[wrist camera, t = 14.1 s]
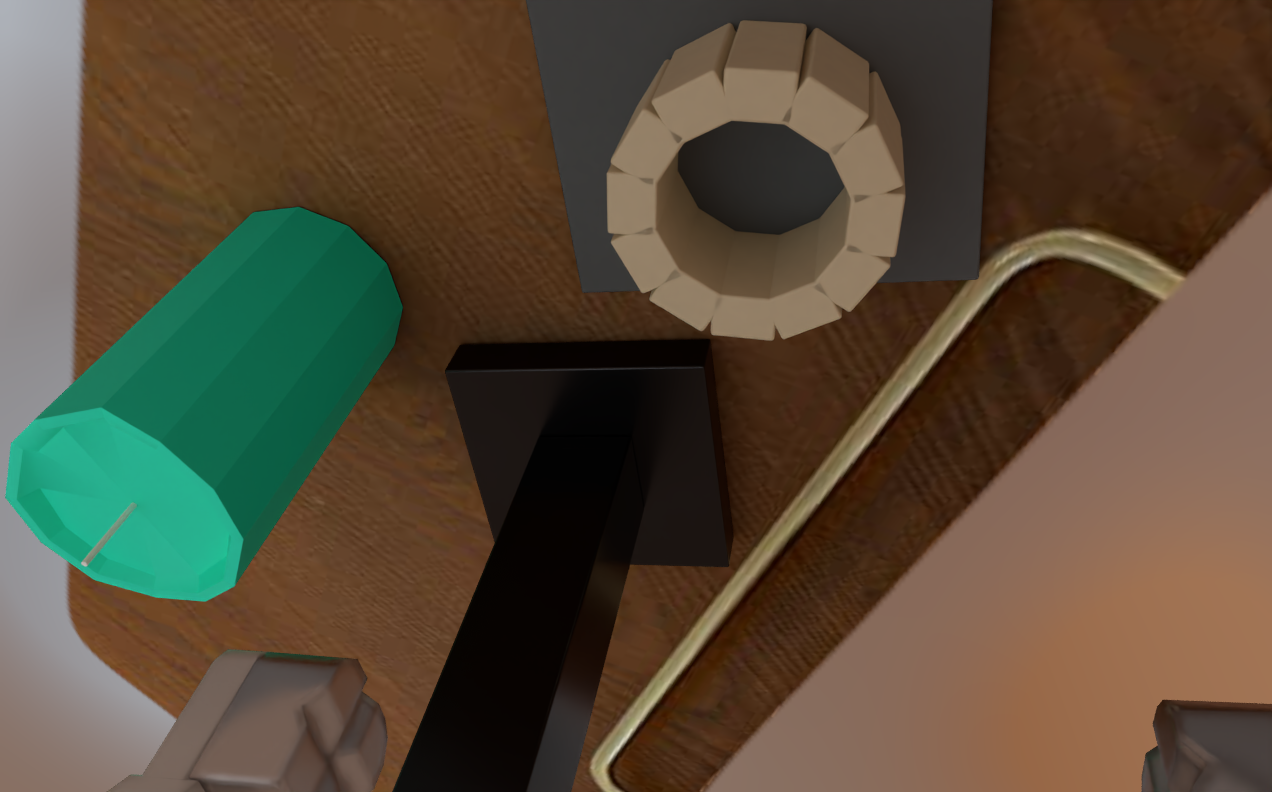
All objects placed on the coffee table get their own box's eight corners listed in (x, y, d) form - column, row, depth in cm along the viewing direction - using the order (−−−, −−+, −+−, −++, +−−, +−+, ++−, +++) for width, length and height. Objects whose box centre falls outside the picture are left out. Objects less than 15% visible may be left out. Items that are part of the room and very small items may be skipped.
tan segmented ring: (633, 13, 26) (604, 60, 23) (919, 28, 25) (925, 79, 22) (633, 260, 30) (608, 326, 27) (879, 281, 29) (880, 352, 26)
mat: (517, -80, 25) (510, -74, 25) (997, -136, 23) (999, -131, 22) (586, 283, 31) (581, 293, 31) (977, 269, 29) (979, 280, 28)
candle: (435, 281, 32) (249, 560, 22) (357, 402, 35) (167, 689, 26) (258, 167, 31) (-18, 411, 21) (195, 304, 34) (-67, 567, 25)
